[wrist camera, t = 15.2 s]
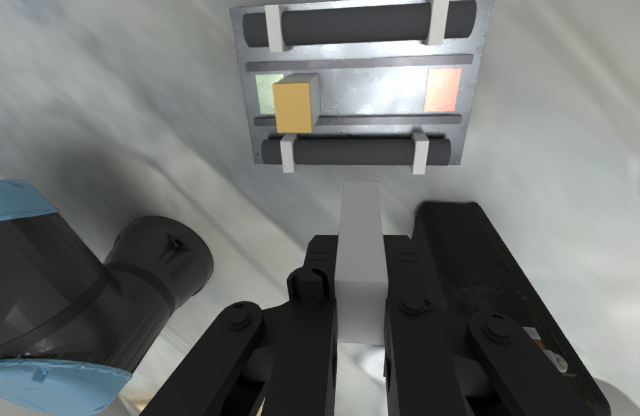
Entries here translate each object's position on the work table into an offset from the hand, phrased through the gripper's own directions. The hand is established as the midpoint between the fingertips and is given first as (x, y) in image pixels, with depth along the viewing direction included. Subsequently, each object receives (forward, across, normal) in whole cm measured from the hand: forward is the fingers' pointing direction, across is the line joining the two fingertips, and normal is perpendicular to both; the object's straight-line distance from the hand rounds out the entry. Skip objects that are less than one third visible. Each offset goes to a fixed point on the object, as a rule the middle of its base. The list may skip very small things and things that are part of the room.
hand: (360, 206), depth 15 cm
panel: (+23, -1, +2) cm, 23 cm away
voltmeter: (+23, +11, -19) cm, 32 cm away
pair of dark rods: (+21, -1, +2) cm, 21 cm away
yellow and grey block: (+21, -6, +2) cm, 21 cm away
